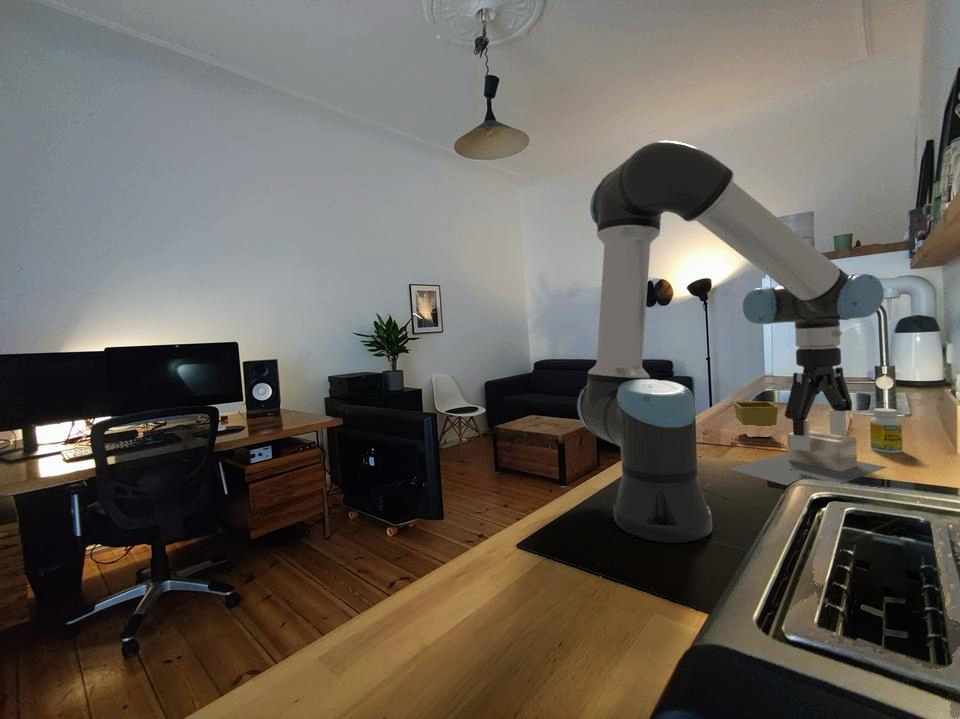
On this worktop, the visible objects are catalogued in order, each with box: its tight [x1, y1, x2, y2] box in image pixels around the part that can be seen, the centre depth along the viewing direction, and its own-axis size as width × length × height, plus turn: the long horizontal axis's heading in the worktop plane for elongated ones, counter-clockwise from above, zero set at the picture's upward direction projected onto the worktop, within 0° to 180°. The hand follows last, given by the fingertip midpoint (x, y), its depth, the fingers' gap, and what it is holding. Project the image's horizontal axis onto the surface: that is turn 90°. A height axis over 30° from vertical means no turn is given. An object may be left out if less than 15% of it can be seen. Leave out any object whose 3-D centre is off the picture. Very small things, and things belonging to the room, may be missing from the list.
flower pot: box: [733, 401, 779, 426], centre depth 117 cm, size 9×9×9 cm
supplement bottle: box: [869, 407, 903, 454], centre depth 98 cm, size 5×5×10 cm
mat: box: [727, 451, 887, 487], centre depth 89 cm, size 25×17×1 cm
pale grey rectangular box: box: [786, 430, 858, 472], centre depth 92 cm, size 10×6×6 cm, turn 24°
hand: (820, 444), depth 92 cm, fingers open, 13 cm apart
